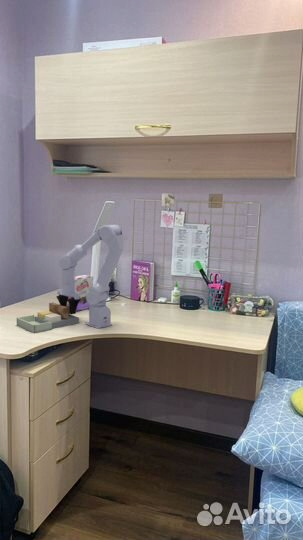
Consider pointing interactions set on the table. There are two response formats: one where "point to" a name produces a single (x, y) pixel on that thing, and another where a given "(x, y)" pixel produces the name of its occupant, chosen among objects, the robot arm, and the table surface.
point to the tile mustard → (43, 314)
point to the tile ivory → (52, 317)
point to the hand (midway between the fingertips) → (68, 312)
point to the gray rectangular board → (44, 323)
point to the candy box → (82, 290)
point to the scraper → (59, 309)
